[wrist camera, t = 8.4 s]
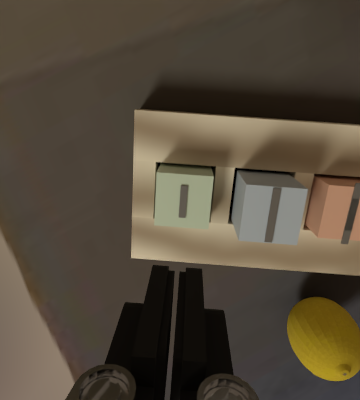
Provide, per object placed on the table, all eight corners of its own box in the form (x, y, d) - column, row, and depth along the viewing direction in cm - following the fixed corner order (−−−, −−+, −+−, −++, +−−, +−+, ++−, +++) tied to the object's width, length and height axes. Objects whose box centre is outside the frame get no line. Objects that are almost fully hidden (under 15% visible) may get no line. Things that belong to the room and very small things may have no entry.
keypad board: (140, 108, 25) (134, 109, 23) (391, 126, 25) (413, 129, 23) (136, 244, 29) (131, 257, 27) (355, 261, 29) (370, 276, 26)
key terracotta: (307, 167, 26) (330, 181, 22) (356, 171, 26) (389, 185, 22) (297, 219, 27) (317, 242, 23) (343, 223, 27) (372, 246, 23)
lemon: (334, 276, 29) (385, 338, 22) (337, 325, 31) (385, 399, 23) (274, 284, 30) (302, 349, 22) (280, 332, 31) (308, 408, 24)
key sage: (162, 160, 26) (156, 172, 22) (210, 164, 26) (213, 176, 22) (159, 205, 27) (153, 225, 23) (205, 209, 27) (208, 229, 23)
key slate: (237, 170, 25) (246, 184, 20) (288, 173, 25) (308, 189, 20) (231, 217, 26) (238, 241, 22) (279, 221, 26) (297, 245, 22)
